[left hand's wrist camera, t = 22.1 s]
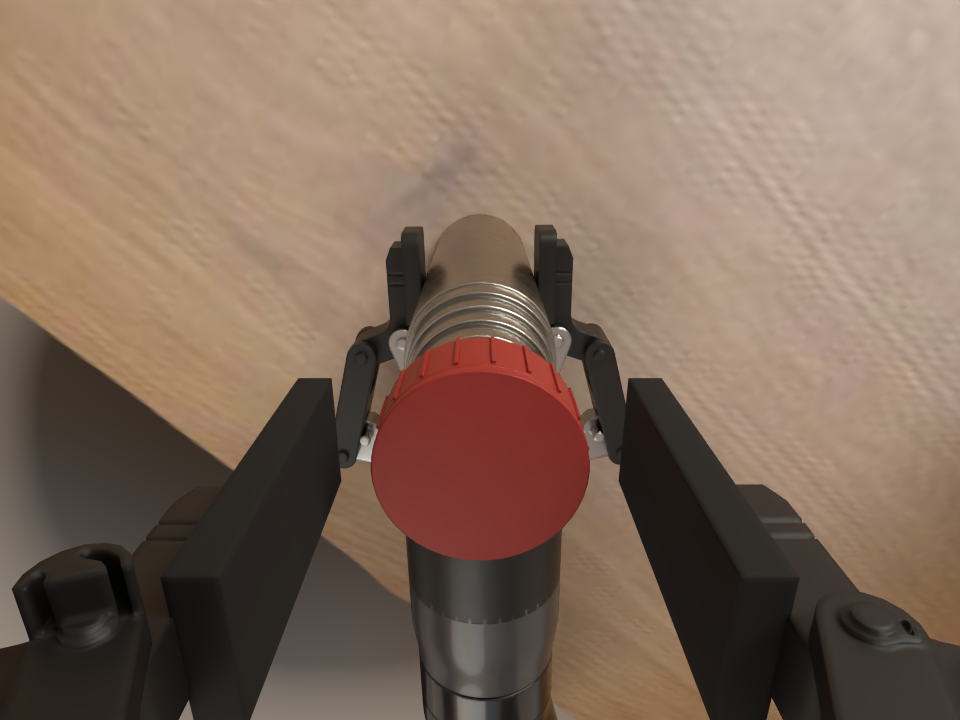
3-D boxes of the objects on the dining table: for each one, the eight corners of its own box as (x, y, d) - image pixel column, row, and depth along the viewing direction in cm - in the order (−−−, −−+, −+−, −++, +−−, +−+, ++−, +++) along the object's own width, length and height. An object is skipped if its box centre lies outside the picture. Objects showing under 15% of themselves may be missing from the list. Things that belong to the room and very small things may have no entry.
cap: (616, 394, 14) (637, 436, 13) (512, 536, 16) (517, 594, 14) (443, 297, 14) (437, 326, 12) (349, 456, 15) (330, 506, 13)
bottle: (505, 199, 31) (542, 321, 12) (538, 284, 32) (615, 503, 14) (419, 236, 31) (334, 403, 13) (456, 317, 33) (427, 568, 15)
